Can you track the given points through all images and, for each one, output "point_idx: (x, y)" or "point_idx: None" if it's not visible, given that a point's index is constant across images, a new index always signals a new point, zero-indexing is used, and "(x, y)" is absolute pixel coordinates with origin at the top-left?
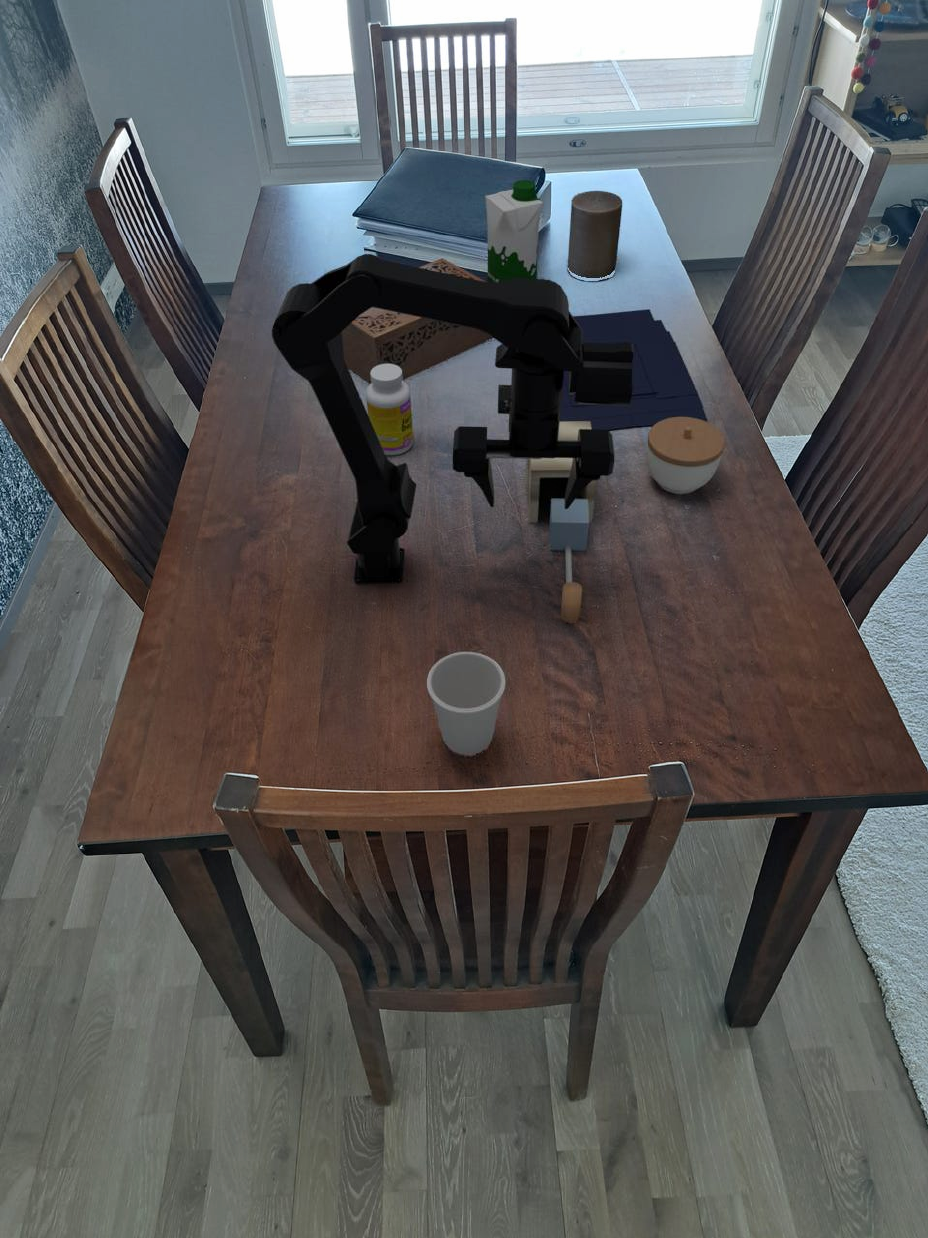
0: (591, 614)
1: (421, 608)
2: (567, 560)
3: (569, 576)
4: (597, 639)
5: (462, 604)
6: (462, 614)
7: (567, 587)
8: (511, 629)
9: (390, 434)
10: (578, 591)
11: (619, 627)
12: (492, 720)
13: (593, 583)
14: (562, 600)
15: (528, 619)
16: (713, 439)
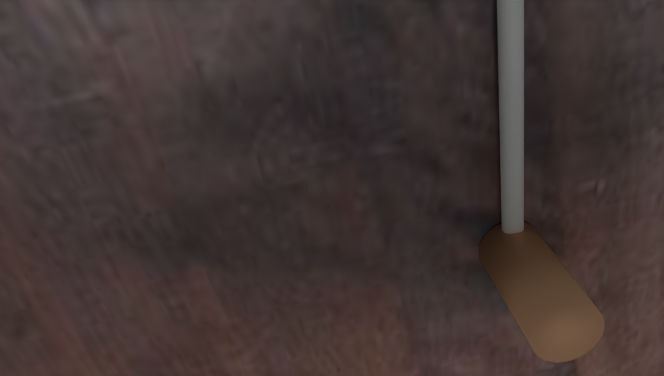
0: (577, 221)
1: (13, 329)
2: (509, 1)
3: (516, 98)
4: None
5: (144, 283)
6: (161, 318)
7: (549, 333)
8: (332, 331)
9: None
10: (589, 339)
11: (656, 248)
12: None
13: (597, 80)
14: (512, 314)
15: (378, 286)
16: None
